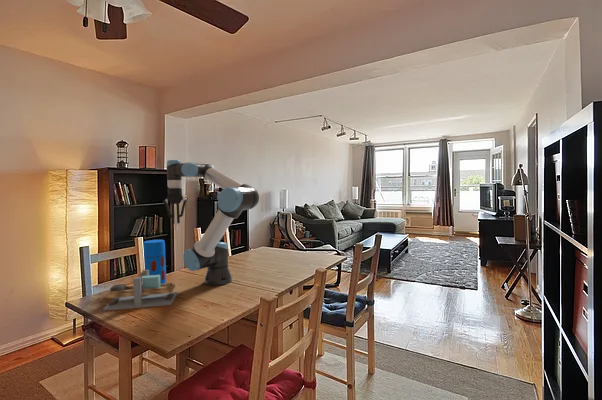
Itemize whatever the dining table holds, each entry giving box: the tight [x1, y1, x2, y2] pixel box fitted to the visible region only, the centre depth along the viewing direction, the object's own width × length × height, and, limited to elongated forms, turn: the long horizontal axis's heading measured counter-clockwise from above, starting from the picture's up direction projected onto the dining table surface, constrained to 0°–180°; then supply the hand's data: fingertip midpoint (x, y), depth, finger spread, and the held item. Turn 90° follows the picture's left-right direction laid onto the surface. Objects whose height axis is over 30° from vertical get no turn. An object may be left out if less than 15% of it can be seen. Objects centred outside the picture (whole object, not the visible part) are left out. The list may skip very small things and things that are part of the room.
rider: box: [142, 275, 161, 289], centre depth 156 cm, size 8×4×6 cm, turn 102°
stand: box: [102, 269, 178, 312], centre depth 155 cm, size 29×16×14 cm, turn 102°
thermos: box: [143, 239, 167, 284], centre depth 181 cm, size 11×11×25 cm
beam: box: [105, 271, 176, 299], centre depth 155 cm, size 28×12×9 cm, turn 102°
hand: (176, 229), depth 182 cm, fingers closed
